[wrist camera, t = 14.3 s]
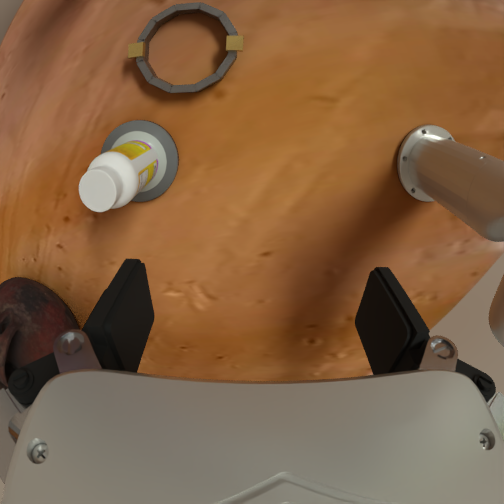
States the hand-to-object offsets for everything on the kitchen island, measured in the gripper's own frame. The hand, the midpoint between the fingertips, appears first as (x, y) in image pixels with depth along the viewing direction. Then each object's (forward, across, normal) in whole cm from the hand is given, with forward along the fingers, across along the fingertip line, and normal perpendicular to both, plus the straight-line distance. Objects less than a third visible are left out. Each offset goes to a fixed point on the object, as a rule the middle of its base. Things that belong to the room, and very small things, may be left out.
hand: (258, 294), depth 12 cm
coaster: (+30, +16, +1) cm, 34 cm away
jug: (+31, +44, +32) cm, 62 cm away
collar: (+30, +9, -15) cm, 35 cm away
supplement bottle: (+29, +16, +1) cm, 33 cm away
